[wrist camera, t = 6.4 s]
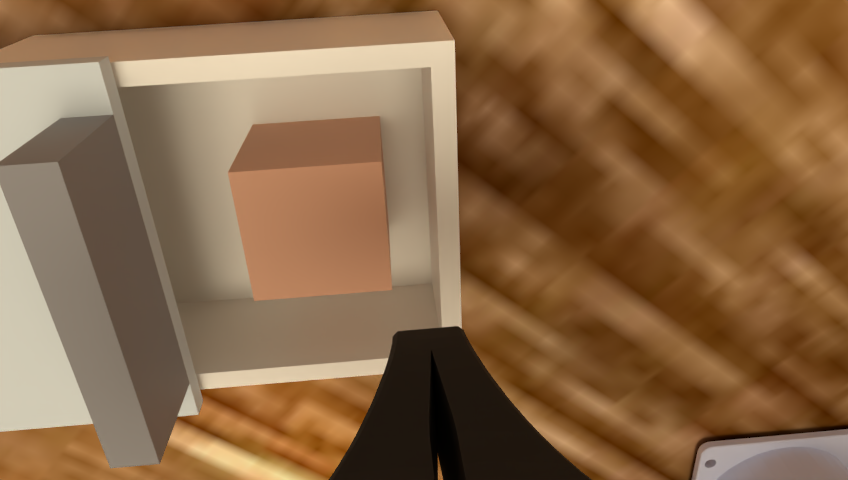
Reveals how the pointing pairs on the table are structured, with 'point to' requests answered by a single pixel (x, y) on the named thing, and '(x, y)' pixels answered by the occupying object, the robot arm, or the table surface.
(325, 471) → the table surface
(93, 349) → the lid
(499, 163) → the table surface
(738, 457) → the robot arm
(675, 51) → the table surface
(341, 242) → the terracotta block
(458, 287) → the box
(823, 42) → the table surface
